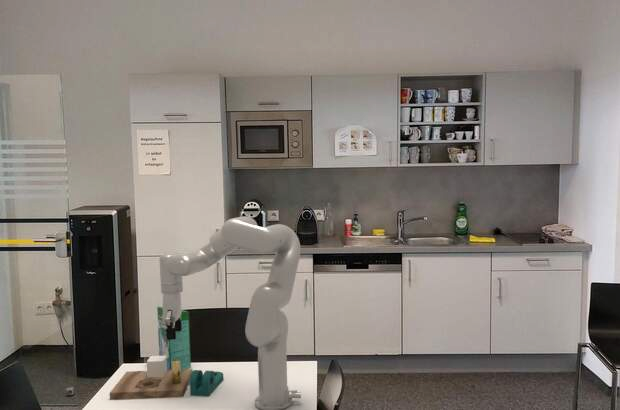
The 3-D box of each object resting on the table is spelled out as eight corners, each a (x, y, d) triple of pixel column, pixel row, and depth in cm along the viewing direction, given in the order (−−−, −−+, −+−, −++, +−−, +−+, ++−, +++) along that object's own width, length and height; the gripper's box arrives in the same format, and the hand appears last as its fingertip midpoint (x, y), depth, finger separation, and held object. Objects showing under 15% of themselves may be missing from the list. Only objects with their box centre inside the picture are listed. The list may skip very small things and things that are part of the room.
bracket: (208, 397, 189) (207, 375, 188) (190, 396, 190) (189, 374, 190) (226, 377, 206) (225, 357, 206) (209, 376, 208) (208, 356, 207)
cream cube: (163, 377, 201) (163, 361, 201) (147, 377, 201) (146, 361, 201) (167, 371, 207) (166, 355, 207) (151, 371, 207) (150, 356, 207)
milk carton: (191, 367, 217) (188, 306, 216) (170, 373, 211) (167, 310, 210) (179, 362, 224) (177, 302, 222) (159, 368, 218) (157, 306, 216)
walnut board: (192, 375, 209) (192, 369, 209) (183, 397, 189) (182, 390, 189) (126, 378, 208) (126, 371, 208) (110, 399, 188) (109, 392, 188)
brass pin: (181, 380, 197) (180, 359, 197) (180, 384, 194) (179, 362, 194) (173, 381, 197) (172, 359, 196) (171, 384, 194) (170, 362, 194)
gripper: (166, 283, 202) (169, 328, 203) (155, 293, 185) (157, 343, 186) (187, 282, 203) (189, 328, 204) (177, 292, 185) (179, 342, 186)
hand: (174, 335), depth 195 cm, fingers open, 9 cm apart
